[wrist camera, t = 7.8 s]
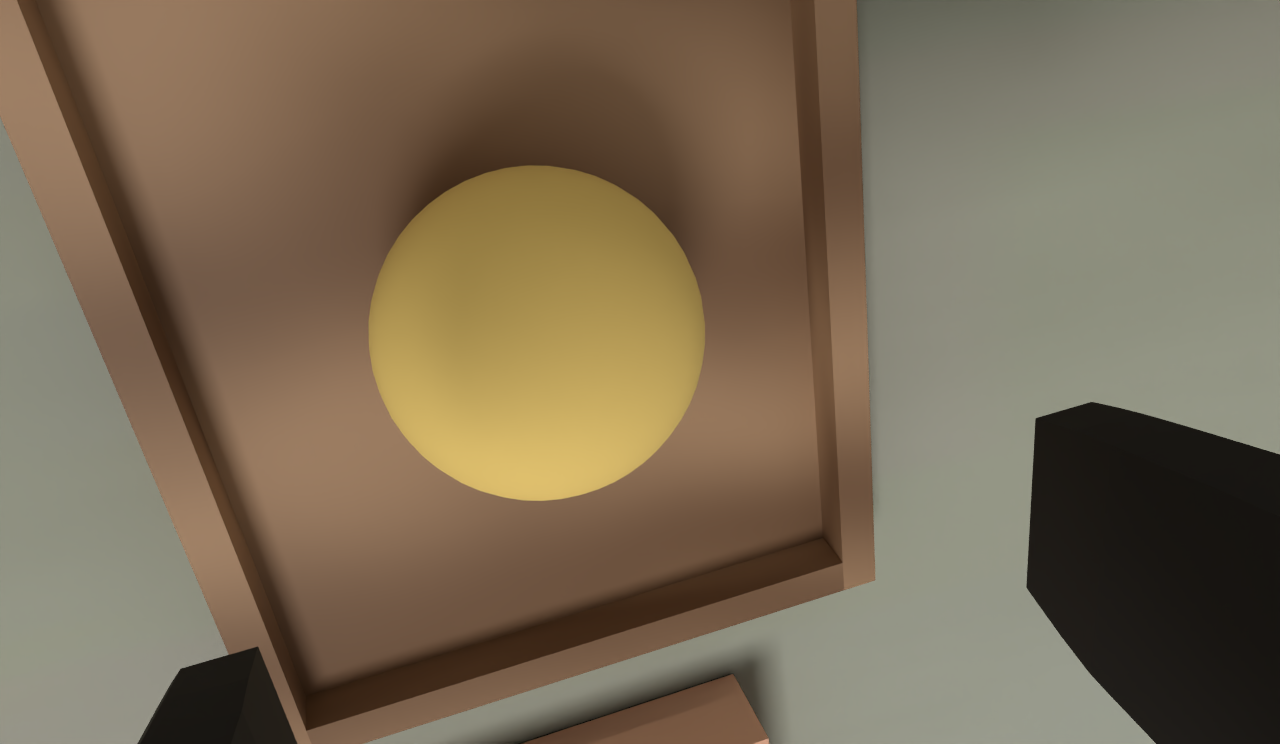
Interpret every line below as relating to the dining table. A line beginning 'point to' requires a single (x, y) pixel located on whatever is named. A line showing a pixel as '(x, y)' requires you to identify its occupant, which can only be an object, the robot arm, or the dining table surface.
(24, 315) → the dining table surface
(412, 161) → the tray
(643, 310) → the ball
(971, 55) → the dining table surface
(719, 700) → the dish
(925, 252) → the dining table surface
